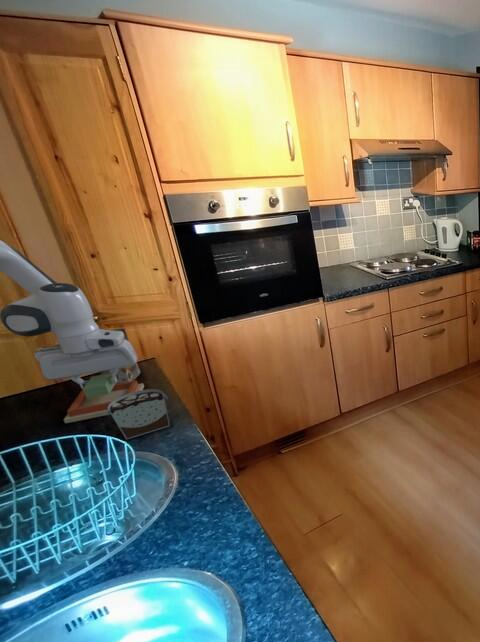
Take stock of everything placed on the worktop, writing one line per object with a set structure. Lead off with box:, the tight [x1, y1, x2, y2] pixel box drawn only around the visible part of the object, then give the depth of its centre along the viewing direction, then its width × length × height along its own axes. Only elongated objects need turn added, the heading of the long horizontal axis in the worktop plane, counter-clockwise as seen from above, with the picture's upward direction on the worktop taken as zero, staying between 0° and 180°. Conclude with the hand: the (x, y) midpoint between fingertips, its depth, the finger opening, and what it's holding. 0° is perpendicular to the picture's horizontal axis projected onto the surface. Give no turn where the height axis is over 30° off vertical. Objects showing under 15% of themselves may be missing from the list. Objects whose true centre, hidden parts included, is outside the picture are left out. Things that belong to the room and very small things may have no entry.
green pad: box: [82, 373, 115, 398], centre depth 130 cm, size 5×8×3 cm, turn 27°
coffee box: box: [99, 328, 141, 384], centre depth 141 cm, size 9×6×16 cm
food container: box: [107, 388, 171, 440], centre depth 119 cm, size 12×6×10 cm, turn 130°
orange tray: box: [63, 379, 145, 424], centre depth 131 cm, size 15×15×3 cm
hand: (100, 384), depth 130 cm, fingers closed on green pad, 5 cm apart
